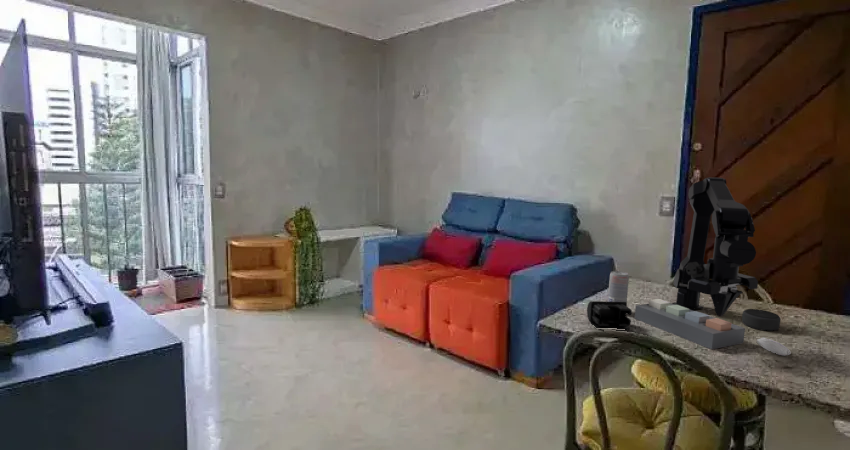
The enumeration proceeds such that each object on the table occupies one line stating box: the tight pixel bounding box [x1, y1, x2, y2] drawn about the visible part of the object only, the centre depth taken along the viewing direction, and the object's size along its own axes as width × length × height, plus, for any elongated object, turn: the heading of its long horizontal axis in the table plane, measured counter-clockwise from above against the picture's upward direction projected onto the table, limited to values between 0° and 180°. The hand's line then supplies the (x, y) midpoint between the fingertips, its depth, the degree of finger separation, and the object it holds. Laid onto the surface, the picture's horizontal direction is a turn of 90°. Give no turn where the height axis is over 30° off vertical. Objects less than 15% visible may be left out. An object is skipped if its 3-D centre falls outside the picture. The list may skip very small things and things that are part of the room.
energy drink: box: [607, 270, 630, 303], centre depth 146 cm, size 5×5×12 cm
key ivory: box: [648, 298, 671, 310], centre depth 139 cm, size 4×4×2 cm
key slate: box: [685, 310, 710, 324], centre depth 128 cm, size 4×4×2 cm
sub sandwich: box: [756, 337, 792, 356], centre depth 118 cm, size 3×8×3 cm, turn 11°
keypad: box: [634, 302, 746, 350], centre depth 131 cm, size 12×24×4 cm, turn 23°
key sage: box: [666, 305, 689, 316], centre depth 134 cm, size 4×4×2 cm
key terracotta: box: [706, 317, 733, 331], centre depth 123 cm, size 4×4×2 cm
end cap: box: [586, 300, 633, 331], centre depth 133 cm, size 10×7×7 cm
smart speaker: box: [741, 308, 781, 332], centre depth 136 cm, size 9×9×4 cm
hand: (719, 316), depth 122 cm, fingers closed
